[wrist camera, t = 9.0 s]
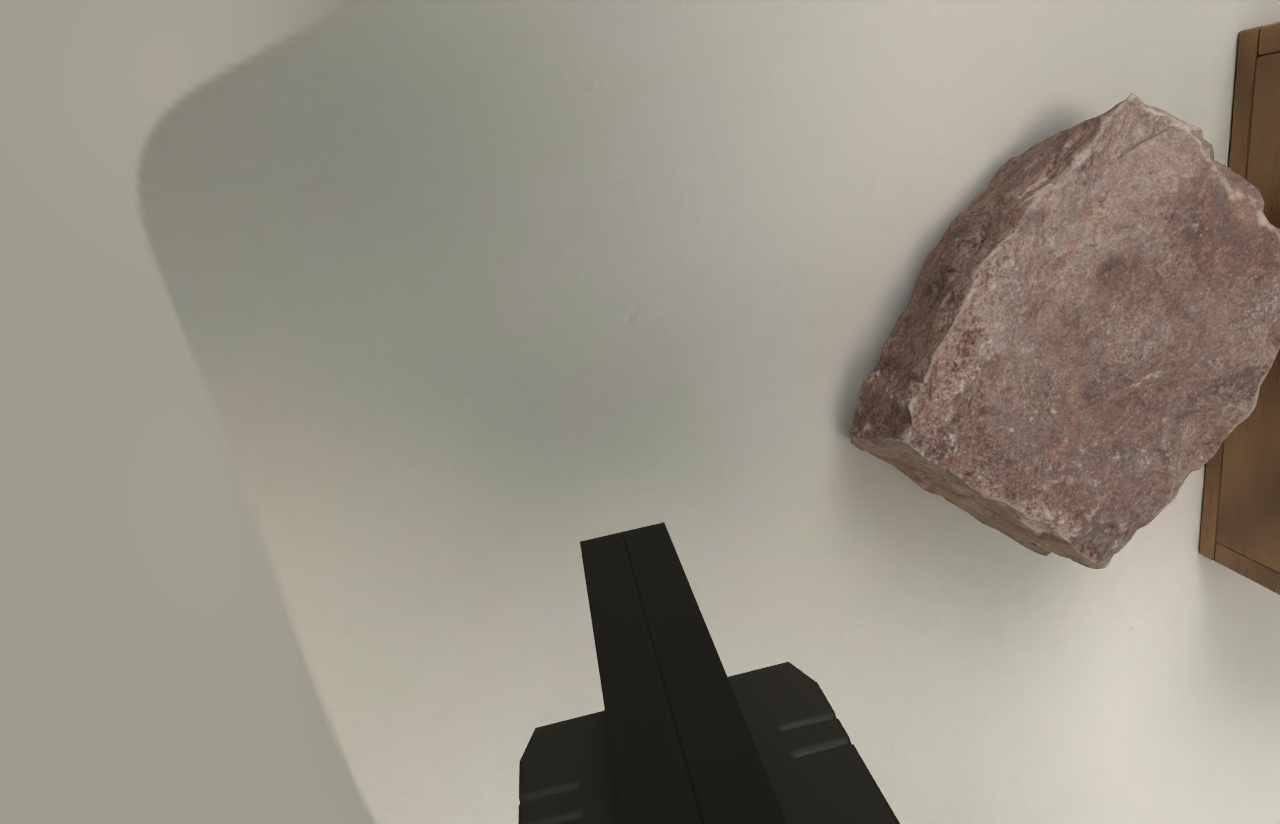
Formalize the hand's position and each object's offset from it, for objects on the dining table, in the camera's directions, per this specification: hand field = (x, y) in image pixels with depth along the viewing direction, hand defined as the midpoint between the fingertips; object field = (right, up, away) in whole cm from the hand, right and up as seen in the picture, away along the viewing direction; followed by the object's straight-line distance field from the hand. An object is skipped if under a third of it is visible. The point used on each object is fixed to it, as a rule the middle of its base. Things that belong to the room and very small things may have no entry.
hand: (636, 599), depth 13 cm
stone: (+12, +6, +10) cm, 17 cm away
